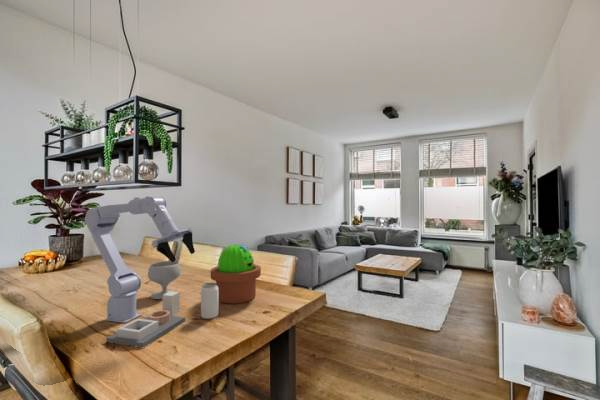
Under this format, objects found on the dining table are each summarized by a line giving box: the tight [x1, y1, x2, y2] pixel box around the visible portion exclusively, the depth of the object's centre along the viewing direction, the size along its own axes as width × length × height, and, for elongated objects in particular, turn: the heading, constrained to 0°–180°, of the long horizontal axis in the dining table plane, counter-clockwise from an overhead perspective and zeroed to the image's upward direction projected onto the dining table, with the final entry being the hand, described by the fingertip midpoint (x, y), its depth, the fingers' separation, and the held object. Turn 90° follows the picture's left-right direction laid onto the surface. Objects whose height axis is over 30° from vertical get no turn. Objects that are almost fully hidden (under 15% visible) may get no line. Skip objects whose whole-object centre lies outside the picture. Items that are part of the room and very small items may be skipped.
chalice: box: [147, 260, 182, 300], centre depth 137 cm, size 14×14×15 cm
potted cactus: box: [210, 243, 262, 305], centre depth 134 cm, size 22×22×25 cm
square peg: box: [162, 291, 181, 316], centre depth 115 cm, size 4×4×8 cm
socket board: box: [105, 309, 186, 348], centre depth 100 cm, size 14×20×4 cm
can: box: [200, 282, 219, 320], centre depth 113 cm, size 6×6×12 cm
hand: (183, 256), depth 103 cm, fingers open, 7 cm apart
